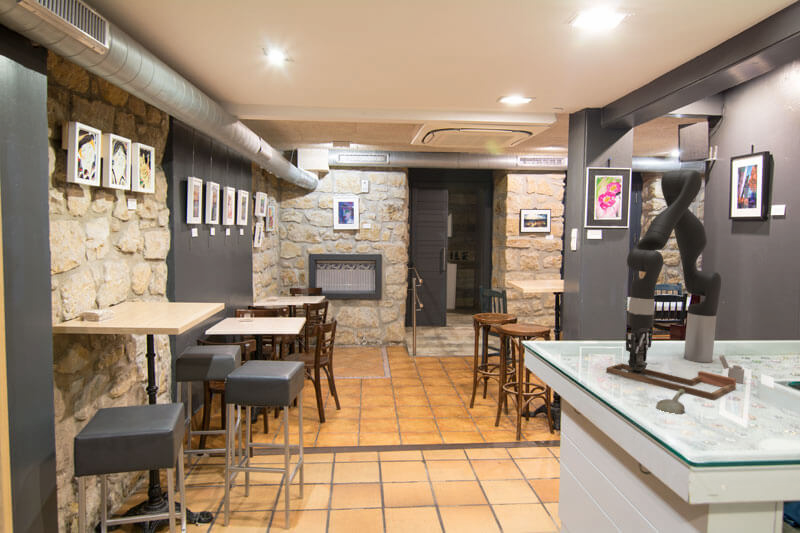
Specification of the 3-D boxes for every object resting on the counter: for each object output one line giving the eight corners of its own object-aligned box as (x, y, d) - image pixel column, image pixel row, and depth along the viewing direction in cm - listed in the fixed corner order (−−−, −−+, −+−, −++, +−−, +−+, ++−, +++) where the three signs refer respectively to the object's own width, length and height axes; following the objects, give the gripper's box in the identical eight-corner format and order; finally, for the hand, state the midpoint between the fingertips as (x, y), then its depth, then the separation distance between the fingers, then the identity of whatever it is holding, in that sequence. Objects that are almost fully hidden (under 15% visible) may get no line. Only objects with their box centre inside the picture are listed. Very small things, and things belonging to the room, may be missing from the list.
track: (632, 364, 180) (632, 355, 180) (735, 388, 155) (736, 379, 155) (606, 372, 168) (607, 363, 168) (713, 400, 144) (714, 389, 144)
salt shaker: (648, 376, 162) (651, 339, 161) (629, 374, 163) (631, 338, 162) (644, 371, 168) (646, 335, 167) (625, 369, 169) (627, 334, 168)
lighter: (743, 382, 162) (745, 357, 162) (743, 383, 161) (745, 359, 160) (717, 378, 166) (719, 354, 166) (716, 379, 165) (718, 355, 164)
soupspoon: (653, 414, 134) (680, 421, 130) (654, 402, 134) (682, 409, 130) (669, 391, 152) (694, 397, 148) (671, 380, 151) (696, 386, 147)
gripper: (640, 308, 171) (636, 356, 173) (619, 311, 162) (615, 363, 164) (663, 311, 166) (659, 362, 167) (642, 315, 157) (638, 368, 158)
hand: (637, 362), depth 165 cm, fingers closed on salt shaker, 6 cm apart
